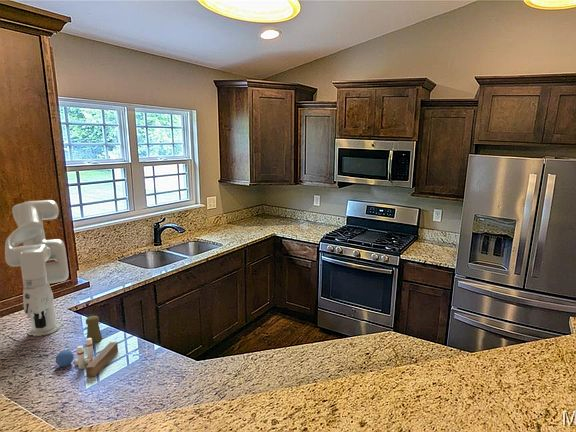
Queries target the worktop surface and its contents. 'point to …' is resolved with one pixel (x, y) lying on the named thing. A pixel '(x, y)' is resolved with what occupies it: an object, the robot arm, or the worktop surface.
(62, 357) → the ball
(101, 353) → the wall
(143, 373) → the worktop surface
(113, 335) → the worktop surface
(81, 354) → the back right pin
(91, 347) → the back left pin
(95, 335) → the cork
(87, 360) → the front pin
